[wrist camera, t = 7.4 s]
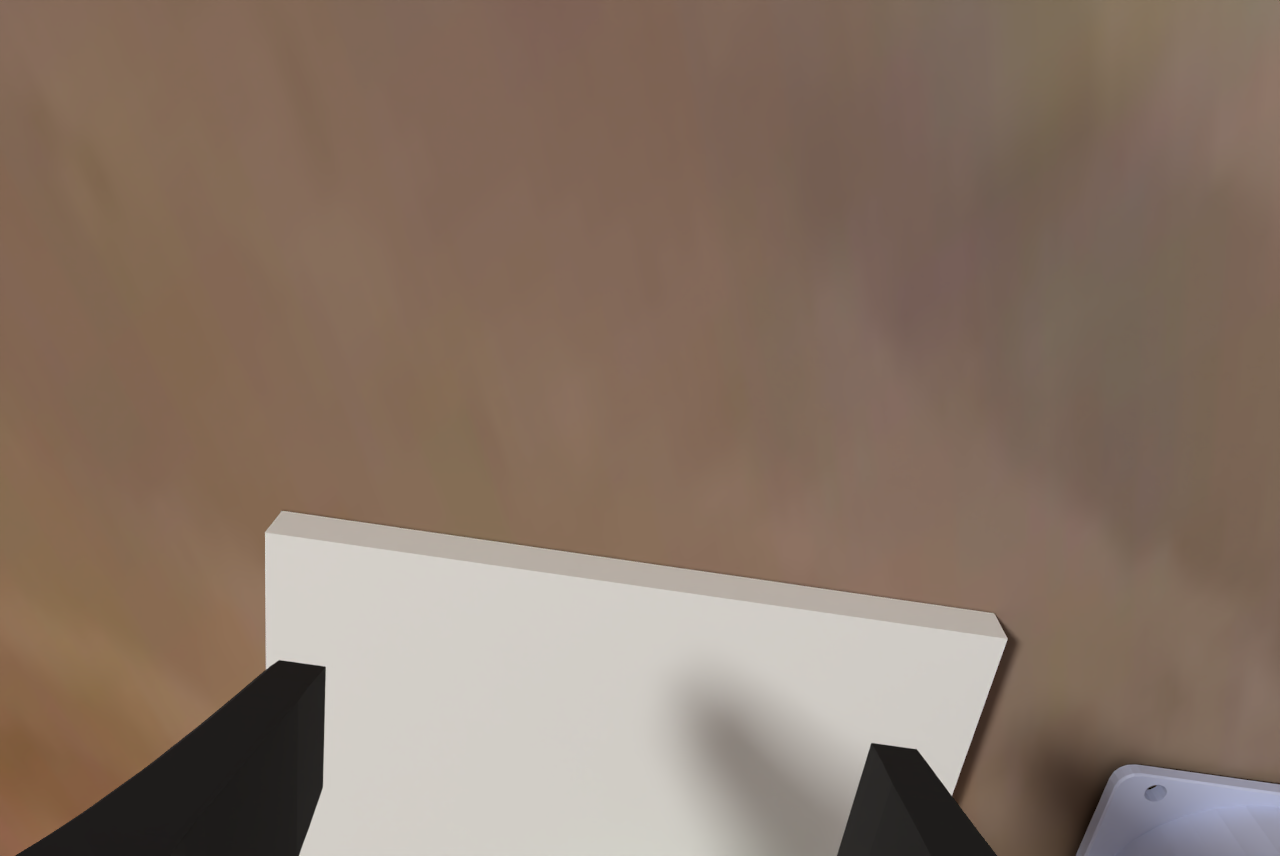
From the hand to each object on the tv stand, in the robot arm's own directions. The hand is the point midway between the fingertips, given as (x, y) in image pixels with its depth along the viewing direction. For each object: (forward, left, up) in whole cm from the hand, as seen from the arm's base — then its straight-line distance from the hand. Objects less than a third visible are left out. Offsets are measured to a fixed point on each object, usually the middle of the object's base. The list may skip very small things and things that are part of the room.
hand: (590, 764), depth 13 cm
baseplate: (-1, +11, -9) cm, 14 cm away
